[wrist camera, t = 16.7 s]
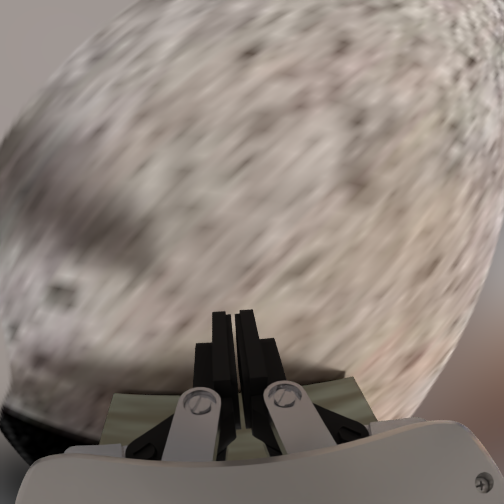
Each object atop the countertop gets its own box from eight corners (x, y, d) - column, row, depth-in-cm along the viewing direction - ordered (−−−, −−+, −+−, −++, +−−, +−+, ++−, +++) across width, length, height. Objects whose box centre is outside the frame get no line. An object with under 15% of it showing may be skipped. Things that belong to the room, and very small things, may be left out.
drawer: (113, 393, 18) (92, 472, 11) (353, 376, 20) (392, 448, 13) (158, 474, 23) (155, 529, 16) (324, 461, 25) (342, 513, 18)
